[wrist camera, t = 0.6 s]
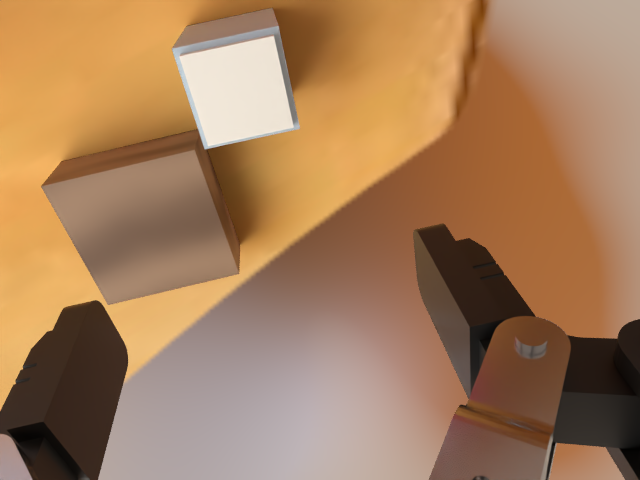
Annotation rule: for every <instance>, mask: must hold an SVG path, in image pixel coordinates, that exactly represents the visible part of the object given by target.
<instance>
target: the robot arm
mask: <svg viewBox="0 0 640 480" xmlns="http://www.w3.org/2000/svg"><path fill="white" fill-rule="evenodd" d="M413 238H414V249H415V260H416V271H417V280H418V286H419V290H420V293H421V296H422V299H423V302H424V304H425V306H426V308H427V311H428V313H429V315H430V316H431V319H432V321H433V323H434V326H435V328H436V330H437V332H438V334H439V336H440V339H441V341H442V343H443V345H444V347H445V349H446V351H447V354H448V356H449V358H450V360H451V362H452V364H453V367H454V369H455V371H456V373H457V375H458V377H459V379H460V382H461V384H462V386H463V388H464V390H465V392H466V394H467V397H468V399H469V400H468V403H467V404H466V406H465V405H460V406H459V407H458V408H457V410H456V412H455V414H454V416H453V419H452V421H451V424H450V426H449V429H448V432H447V434H446V437H445V439H444V442H443V445H442V447H441V450H440V452H439V455H438V458H437V460H436V462H435V465H434V468H433V470H432V473H431V475H430V478H429V480H549V477H550V473H551V467H552V463H553V458H554V453H555V448H556V444H557V443H565V444H577V445H589V446H600V447H606V448H607V450H608V452H609V454H610V455H611V457H612V459H613V460H614V462H615V464H616V465H617V467H618V468H619V470H620V472H621V473H622V475H623V477H624V478H625V480H640V319H639V320H635V321H632V322H629V323H628V324H626V325H624V326H623V327H622V329H621V330H620V332H619V334H618V339H607V338H606V339H605V338H580V337H574V336H568V335H566V333H565V332H564V331H563V330H562V329H561V328H560V327H559V326H557V325H556V324H554V323H552V322H550V321H548V320H545V319H542V318H539V317H536V316H535V315H534V313H533V312H532V311H531V309H530V308H529V307H528V305H527V304H526V302H525V301H524V300H523V298H522V297H521V296H520V294H519V293H518V292H517V290H516V289H515V287H514V286H513V285H512V283H511V282H510V281H509V279H508V278H507V276H506V275H505V276H504V273H503V271H502V270H501V268H500V267H499V265H498V264H496V261H495V260H494V259H493V257H492V256H491V254H490V253H489V252H488V250H487V249H486V248H485V247H483V246H482V245H479V244H478V243H476V242H475V241H473V240H471V239H470V238H468V239H464V240H459V241H455V239H454V238H453V236H452V234H451V233H450V231H449V230H448V228H447V227H446V225H445V224H439V225H434V226H430V227H425V228H420V229H416V230H414V232H413ZM127 367H128V354H127V349H126V346H125V343H124V341H123V340H122V338H121V336H120V334H119V333H118V331H117V329H116V327H115V326H114V324H113V322H112V320H111V319H110V317H109V315H108V313H107V312H106V310H105V308H104V307H103V305H102V304H101V303H100V302H99V301H96V300H95V301H91V302H86V303H82V304H77V305H73V306H68V307H65V308H64V309H63V310H62V312H61V314H60V316H59V318H58V320H57V322H56V324H55V327H54V329H53V331H48V332H47V333H46V334H45V335H44V336H43V337H42V338H41V339H40V340H39V341H38V342H37V343H36V344H35V346H34V347H33V348H32V349H31V351H30V353H29V355H28V357H27V359H26V361H25V363H24V365H23V370H21V371H20V373H19V375H18V377H17V379H16V384H14V385H13V387H12V389H11V391H10V393H9V395H8V397H7V399H6V401H5V403H4V405H3V407H2V409H1V411H0V480H98V477H99V473H100V470H101V466H102V462H103V458H104V454H105V451H106V447H107V443H108V439H109V435H110V432H111V427H112V424H113V420H114V416H115V413H116V409H117V405H118V401H119V397H120V393H121V390H122V386H123V382H124V378H125V375H126V371H127Z"/></svg>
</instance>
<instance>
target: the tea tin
mask: <svg viewBox="0 0 640 480" xmlns="http://www.w3.org/2000/svg"><path fill="white" fill-rule="evenodd" d="M172 51H173V54H174V57H175V60H176V63H177V66H178V69H179V72H180V75H181V78H182V81H183V85H184V88H185V91H186V94H187V97H188V100H189V103H190V106H191V109H192V112H193V115H194V118H195V121H196V124H197V127H198V130H199V133H200V137H201V140H202V143H203V146H204V149H209V148H214V147H218V146H223V145H227V144H232V143H237V142H241V141H246V140H250V139H255V138H260V137H264V136H269V135H273V134H278V133H282V132H287V131H292V130H296V129H300V126H299V122H298V117H297V112H296V107H295V102H294V98H293V93H292V88H291V83H290V79H289V74H288V69H287V64H286V59H285V55H284V50H283V45H282V40H281V36H280V31H279V26H278V23H277V20H276V17H275V14H274V11H273V8H269V9H264V10H259V11H255V12H250V13H245V14H241V15H236V16H231V17H227V18H222V19H218V20H213V21H208V22H204V23H199V24H194V25H190V26H186V28H185V29H184V31H183V32H182V34H181V35H180V37H179V39H178V40H177V42H176V43H175V45H174V46H173V48H172Z"/></svg>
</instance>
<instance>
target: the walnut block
mask: <svg viewBox="0 0 640 480" xmlns="http://www.w3.org/2000/svg"><path fill="white" fill-rule="evenodd" d="M41 187H42V189H43V191H44V193H45V194H46V196H47V198H48V200H49V201H50V203H51V205H52V207H53V208H54V210H55V212H56V214H57V216H58V217H59V219H60V221H61V223H62V224H63V226H64V228H65V230H66V231H67V233H68V235H69V237H70V238H71V240H72V242H73V244H74V246H75V247H76V249H77V251H78V253H79V254H80V256H81V258H82V260H83V261H84V263H85V265H86V267H87V269H88V270H89V272H90V274H91V276H92V277H93V279H94V281H95V283H96V284H97V286H98V288H99V290H100V291H101V293H102V295H103V297H104V299H105V300H106V302H107V304H108V305H110V304H114V303H119V302H123V301H127V300H131V299H135V298H140V297H144V296H148V295H152V294H157V293H161V292H165V291H169V290H173V289H178V288H182V287H186V286H190V285H194V284H199V283H203V282H207V281H211V280H215V279H220V278H224V277H228V276H232V275H236V274H239V264H240V243H239V240H238V237H237V234H236V232H235V229H234V226H233V223H232V220H231V217H230V214H229V211H228V209H227V206H226V203H225V200H224V197H223V194H222V191H221V188H220V185H219V183H218V180H217V177H216V174H215V171H214V168H213V165H212V162H211V160H210V157H209V154H208V151H207V149H204V146H203V143H202V140H201V137H200V133H199V130H198V129H196V130H192V131H188V132H184V133H179V134H175V135H171V136H167V137H163V138H158V139H154V140H150V141H146V142H142V143H137V144H133V145H129V146H125V147H120V148H116V149H112V150H108V151H104V152H99V153H95V154H91V155H87V156H83V157H78V158H74V159H70V160H66V161H62V162H61V163H60V164H59V165H58V166H57V168H56V169H55V170H54V171H53V173H52V174H51V175H50V176H49V177H48V179H47V180H46V181H45V182H44V183H43V185H42V186H41Z"/></svg>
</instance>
